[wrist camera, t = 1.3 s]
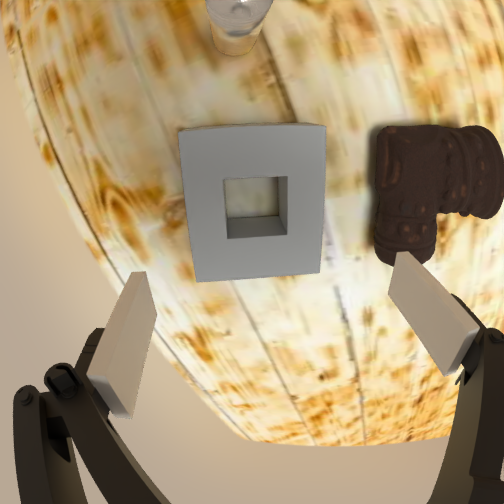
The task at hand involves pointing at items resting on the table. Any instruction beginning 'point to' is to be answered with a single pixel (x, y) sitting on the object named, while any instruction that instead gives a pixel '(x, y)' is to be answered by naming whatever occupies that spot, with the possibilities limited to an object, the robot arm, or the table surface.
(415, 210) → the pipe
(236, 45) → the cylinder
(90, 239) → the table surface
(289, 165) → the socket block
